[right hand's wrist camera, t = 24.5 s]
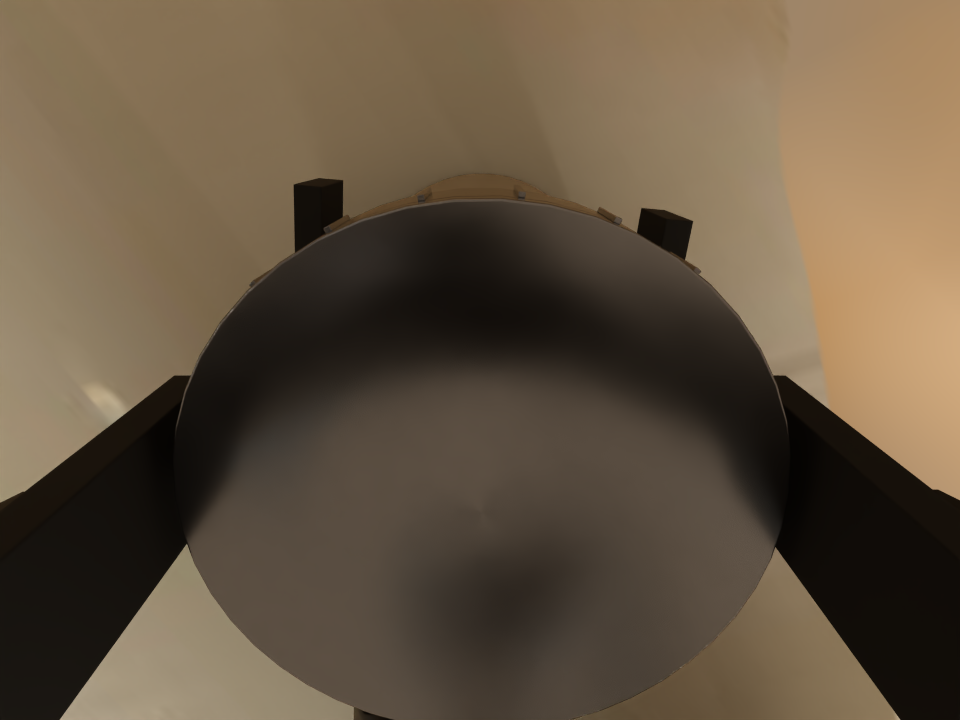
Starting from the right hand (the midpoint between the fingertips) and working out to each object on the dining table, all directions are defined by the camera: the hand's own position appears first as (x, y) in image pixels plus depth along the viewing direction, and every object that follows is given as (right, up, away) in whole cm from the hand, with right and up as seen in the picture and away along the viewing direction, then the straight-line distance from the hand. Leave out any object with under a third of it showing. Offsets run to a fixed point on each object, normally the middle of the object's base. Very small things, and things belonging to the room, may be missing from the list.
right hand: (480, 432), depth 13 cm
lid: (0, -1, -2) cm, 3 cm away
